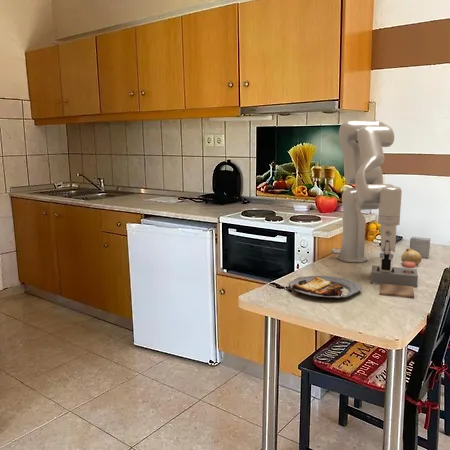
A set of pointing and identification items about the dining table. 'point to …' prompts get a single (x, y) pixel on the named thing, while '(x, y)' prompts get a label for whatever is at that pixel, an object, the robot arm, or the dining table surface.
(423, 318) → the dining table surface
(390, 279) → the housing
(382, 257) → the cylinder
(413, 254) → the onion
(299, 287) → the food plate
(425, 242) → the medicine box
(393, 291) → the pad
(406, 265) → the red round-topped peg
